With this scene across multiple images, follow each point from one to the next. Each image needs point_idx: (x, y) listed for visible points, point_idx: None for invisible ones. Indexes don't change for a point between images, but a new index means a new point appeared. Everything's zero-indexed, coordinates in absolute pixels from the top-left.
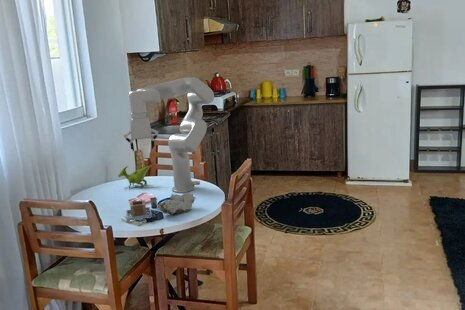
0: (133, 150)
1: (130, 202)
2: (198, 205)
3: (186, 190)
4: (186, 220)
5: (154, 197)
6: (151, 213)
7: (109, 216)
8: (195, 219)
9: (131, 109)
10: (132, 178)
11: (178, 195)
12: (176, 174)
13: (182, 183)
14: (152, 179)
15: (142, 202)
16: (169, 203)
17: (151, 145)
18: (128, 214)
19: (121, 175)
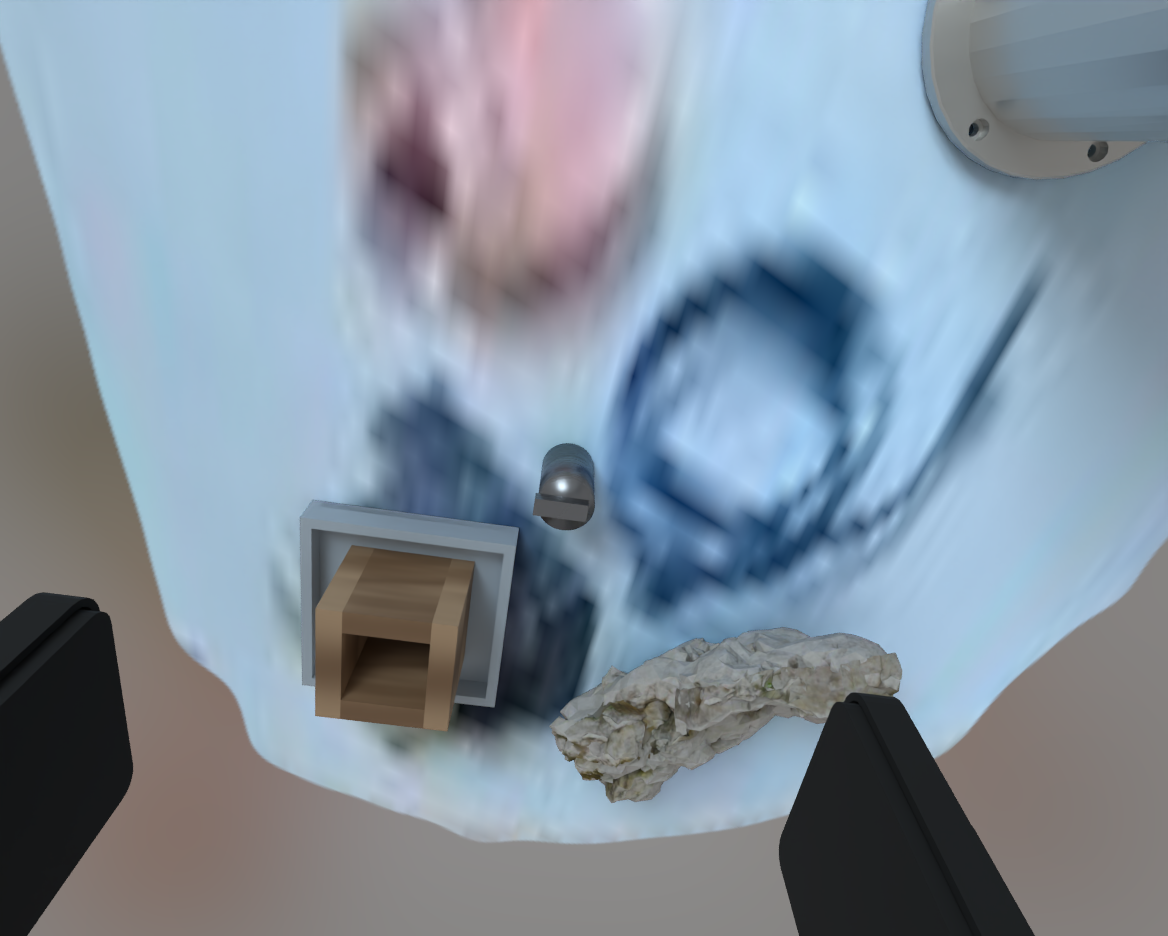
0: (102, 796)
1: (320, 626)
2: (899, 615)
3: (1042, 178)
4: (694, 809)
5: (578, 512)
6: (496, 689)
7: (164, 475)
8: (748, 820)
9: None
10: None
11: (769, 692)
12: (1120, 71)
13: (1076, 135)
14: None
15: (429, 678)
16: (641, 768)
17: (849, 837)
18: (326, 549)
19: None
